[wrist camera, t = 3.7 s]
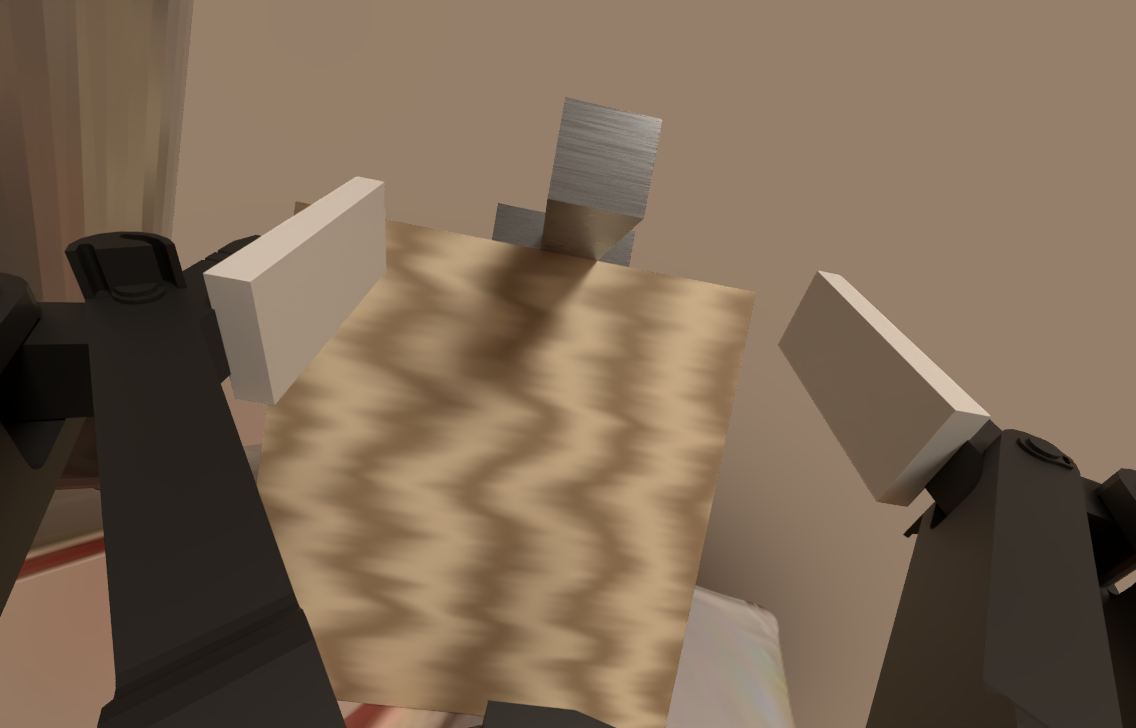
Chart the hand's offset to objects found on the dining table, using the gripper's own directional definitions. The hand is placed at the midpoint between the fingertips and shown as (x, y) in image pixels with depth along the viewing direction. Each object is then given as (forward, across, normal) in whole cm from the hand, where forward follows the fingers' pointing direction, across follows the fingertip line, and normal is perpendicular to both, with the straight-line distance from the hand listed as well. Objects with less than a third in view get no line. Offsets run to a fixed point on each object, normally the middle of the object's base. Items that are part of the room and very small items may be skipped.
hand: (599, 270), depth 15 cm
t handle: (+16, 0, -6) cm, 17 cm away
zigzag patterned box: (+7, -2, -36) cm, 36 cm away
